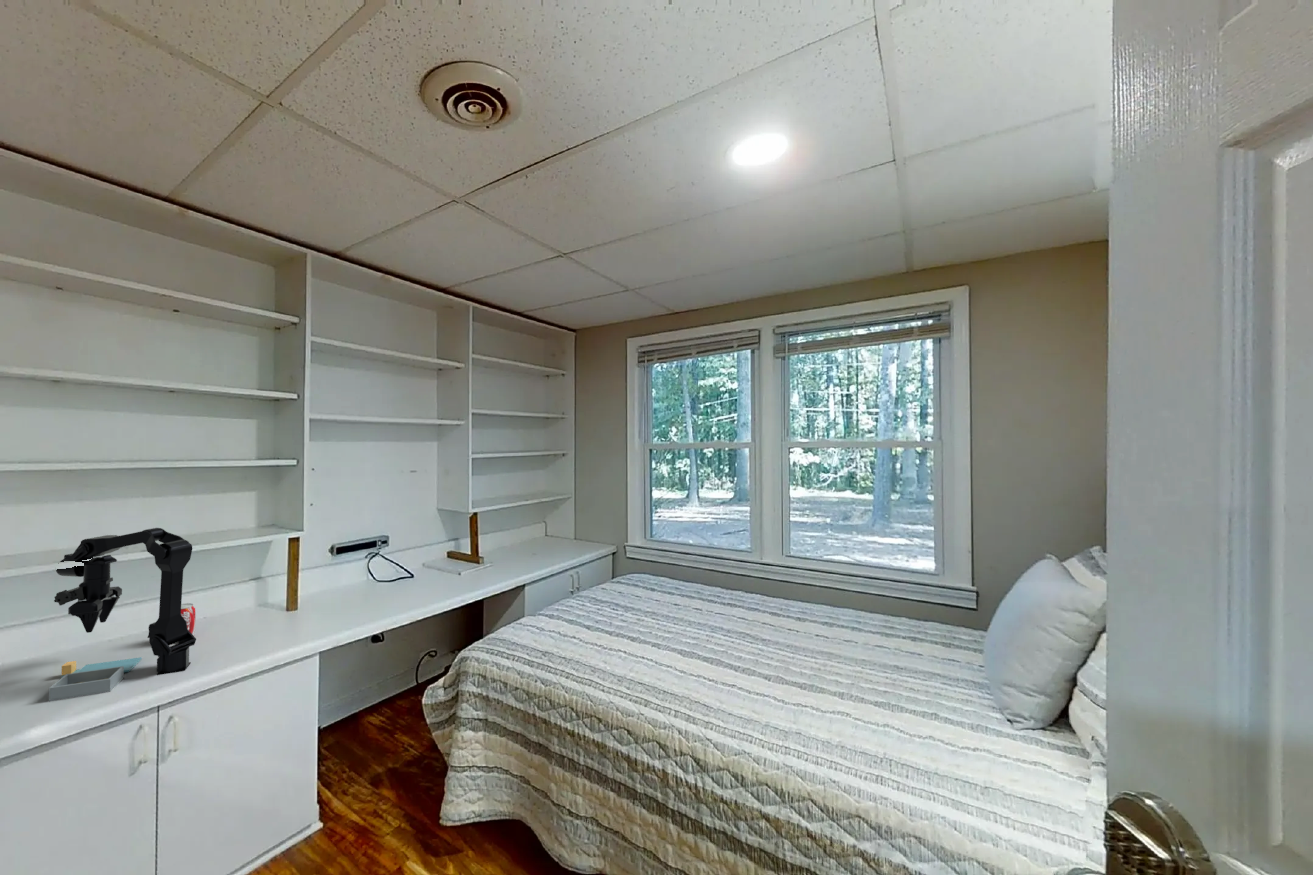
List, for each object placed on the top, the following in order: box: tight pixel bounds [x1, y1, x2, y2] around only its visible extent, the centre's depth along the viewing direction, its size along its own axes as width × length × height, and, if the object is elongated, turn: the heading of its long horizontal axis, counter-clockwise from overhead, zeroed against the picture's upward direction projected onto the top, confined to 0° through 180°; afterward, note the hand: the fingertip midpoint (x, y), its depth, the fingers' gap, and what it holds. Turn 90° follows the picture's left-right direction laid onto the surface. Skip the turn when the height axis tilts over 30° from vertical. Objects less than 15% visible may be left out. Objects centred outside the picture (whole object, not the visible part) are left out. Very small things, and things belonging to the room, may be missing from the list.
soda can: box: [175, 602, 196, 644], centre depth 183 cm, size 7×7×12 cm
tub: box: [48, 666, 125, 702], centre depth 148 cm, size 12×9×4 cm
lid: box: [61, 656, 143, 678], centre depth 158 cm, size 16×10×4 cm, turn 119°
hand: (96, 627), depth 163 cm, fingers open, 9 cm apart
